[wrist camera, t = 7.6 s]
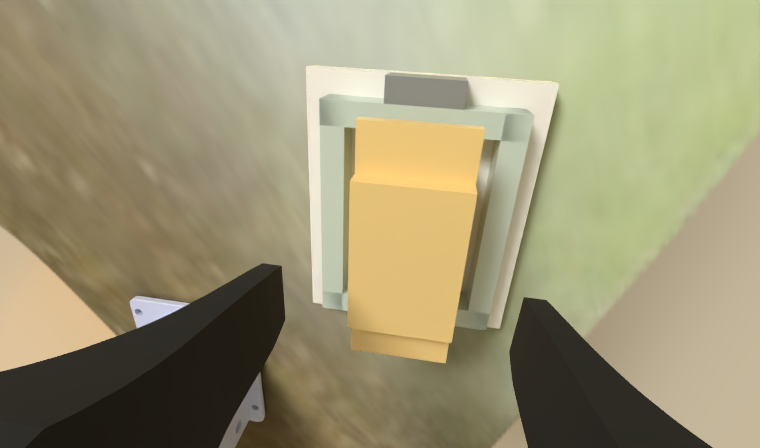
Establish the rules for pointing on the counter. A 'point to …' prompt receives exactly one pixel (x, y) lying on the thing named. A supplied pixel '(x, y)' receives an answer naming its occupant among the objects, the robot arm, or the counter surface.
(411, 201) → the block
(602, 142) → the counter surface
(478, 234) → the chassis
